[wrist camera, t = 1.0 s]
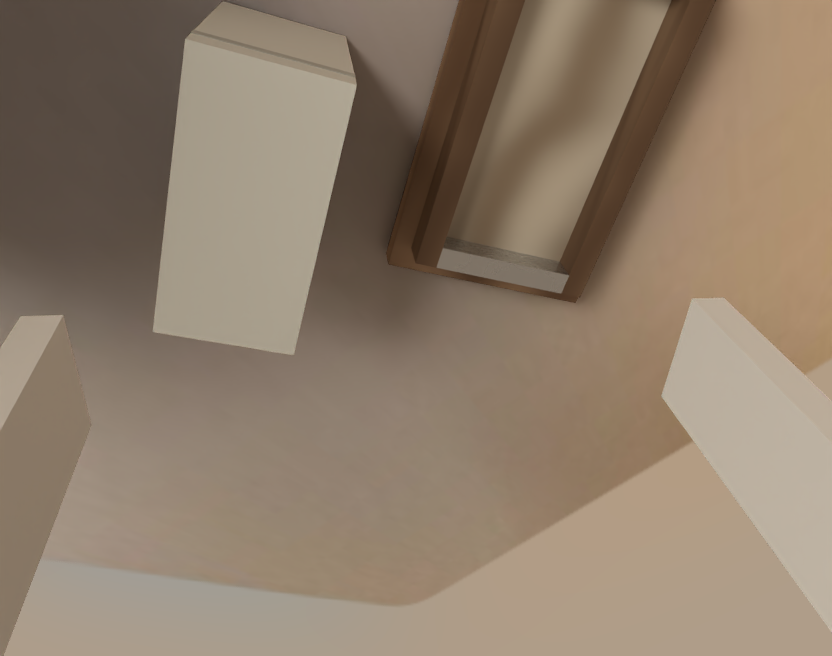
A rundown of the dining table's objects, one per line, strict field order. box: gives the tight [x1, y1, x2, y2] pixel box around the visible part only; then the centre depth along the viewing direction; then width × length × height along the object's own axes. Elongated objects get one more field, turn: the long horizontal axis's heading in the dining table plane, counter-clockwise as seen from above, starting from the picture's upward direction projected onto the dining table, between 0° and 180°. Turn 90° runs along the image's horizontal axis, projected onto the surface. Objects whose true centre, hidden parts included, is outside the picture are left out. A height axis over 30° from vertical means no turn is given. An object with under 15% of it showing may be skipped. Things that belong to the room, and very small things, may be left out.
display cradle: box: [386, 0, 716, 303], centre depth 36 cm, size 12×20×4 cm, turn 164°
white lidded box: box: [153, 1, 357, 355], centre depth 31 cm, size 6×12×11 cm, turn 164°
